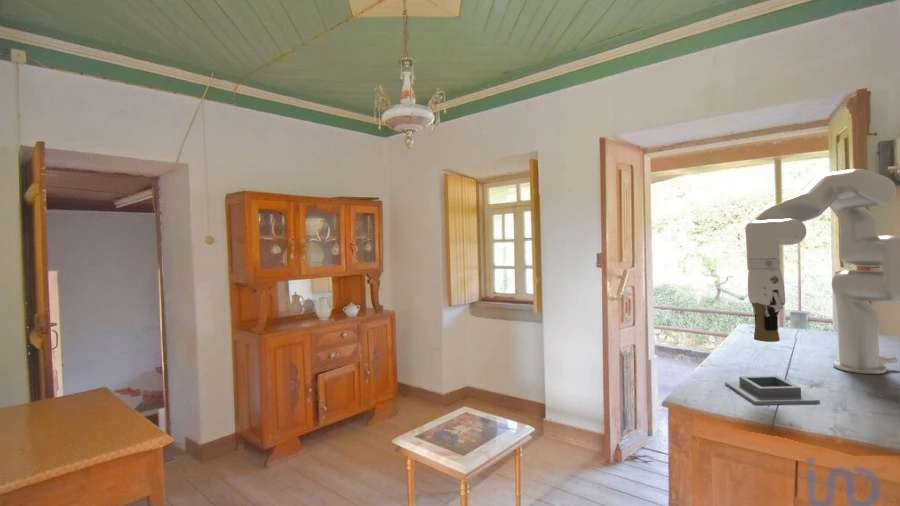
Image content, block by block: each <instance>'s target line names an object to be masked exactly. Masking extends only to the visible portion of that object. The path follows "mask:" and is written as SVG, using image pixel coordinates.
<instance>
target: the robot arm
mask: <svg viewBox="0 0 900 506" xmlns="http://www.w3.org/2000/svg"><path fill="white" fill-rule="evenodd" d="M896 197H897V186H896V183H895V182H894V181H893V180H892V179H891V178H889V177H887V176H885V175H881V174H879V173H877V172H874V171H871V170H869V169H868V170H867V169H863V168H850V169H845V170H838V171H831V172H825V173H822V174H821V173H820V174H818V175H817V176H815V177H814V178H813V179H811V180H810V181H809V182H808V183H807V184H806V185H805V186H804V187H803V188H802V189H801V190H800V191H799V192H797V194H795V195H794V196H793V197H791V198H788V199H786V200H784V201H782V202H779V203H777V204H775V205H772V206H770V207H768V208H767V209H765V210H763V211H760V213H759V214H758V215H756V216H755V217H754V218H753V219H752V220H751V221H750V222H748V223H747V224H746V225H745V245H746V263H747V264H746V265H747V266H746V267H747V271H748V273H747V294H748V295H747V296H748V301H749V303H750V304H751V306H752V308H753V313H754V324H755V323H756V314H757V312H756V311H755V309H754V304H755V303H759V304H762V305H764V307H765V315H766V316H764V327H765V330H766V331H773V330H778V331H779V324H778V321H779V320H778V317H779V312H780V311H781V310H782V309H783V308H784V305H785V304H786V295H785V294H786V293H785V284H784V280H783V279H784V278H783V274H782V271H781V263H780V261H781V260H780V246H792V245H797V244H799V243H801V242H802V241H803V240H804V239H805V237H807V227H806V225H805V224H804V223H803V222H807V221H809V220H810V221H811V220H813V219H816V218H818V217H820V216H821V215H822V214H823V213H824V212H826V210H827V209H828V208H830V210H831V211H832V212H833V213H834V214H835V215H836V217H837V219H838V222H839V252H838V253H839V258H840V261H841V262H842V263H843V264H845V265H847V266H852V267H854V266H855V267H878V268H879V267H881V268H882V270H862V269H861V270H859V269H857V270H856V269H849V270H842V271H839V272H837V273H836V274H834V275H833V277H832V279H831V280H832V281H831V288H832V292H833V295H834V299H835V305H836V312H837V314H836V315H837V317H836V318H837V319H836V320H837V336H838V337H837V339H838V340H837V341H838V359H837V360H834V361H833V363H832V364H833V367H834V368H836V369H839V370H842V371H845V372H850V373H856V374H864V375H867V374H868V375H869V374H870V375H879V374H885V373H887V371H888V368H887V366H885V365H887V364H897V363H898V358H897V357H895V356H886V355H885V356H884V355H881V354H880V340H879V339H880V338H879V336H880V335H879V333H880V332H879V315H878V312H877V311H876V309H875V308H874V306H873V305H872V304H871V303H870V302H874V303H884V304H885V303H888V304H898V303H900V236H899V235H898V236H897V235H877V220H876V218H875V216H874V215H873V214H872V213H871V211H869V210H868V209H867V208H868V207H879V206H881V207H882V206H887V205H888V204H890V203H892V202H893V201H894V199H895V198H896ZM771 303H773V305H770V304H771ZM769 307H773V308H771V309H770V310H769Z"/></svg>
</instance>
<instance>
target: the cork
mask: <svg viewBox="0 0 900 506" xmlns="http://www.w3.org/2000/svg"><path fill="white" fill-rule="evenodd" d="M770 305H773V303H771V304H770ZM771 308H773V307H769V310H770V309H771ZM754 309H755V311H756V312H757V314H756V323H755V322H754V334H753V339H754V340H756V341H758V342H763V343H764V342H765V343H768V342H769V343H775V342H779V341H780V339H781V338H780V334H779V329H778V330H773V331H766V330H765V327H764V316H766V315H765V307H764V305H762V304H759V303H755V304H754Z"/></svg>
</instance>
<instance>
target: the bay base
mask: <svg viewBox="0 0 900 506" xmlns="http://www.w3.org/2000/svg"><path fill="white" fill-rule="evenodd" d="M738 379H739V381H725V382H724V385H725V386H726V387H728V388H730V389H731V390H733V391H734V392H736V393H738V395H740V396H741V397H743V398H745V399H746V400H748V401H749V402H751V403H752V404H753V405H791V404H792V405H794V404H795V405H797V404H798V405H799V404H800V405H801V404H802V405H803V404H804V405H805V404H806V405H807V404H820V403H821V402H820V401H821V400H820V399H818V398H816V397H815V396H812V395H810V394H808V393H807V392H804V391H802V389H801V386H799V385H797V384H794V383H793V382H790V381H789V380H786V379H784V378H782V377H781V376H778V375H751V376H750V375H749V376H747V375H746V376H745V375H744V376H739V378H738Z"/></svg>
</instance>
